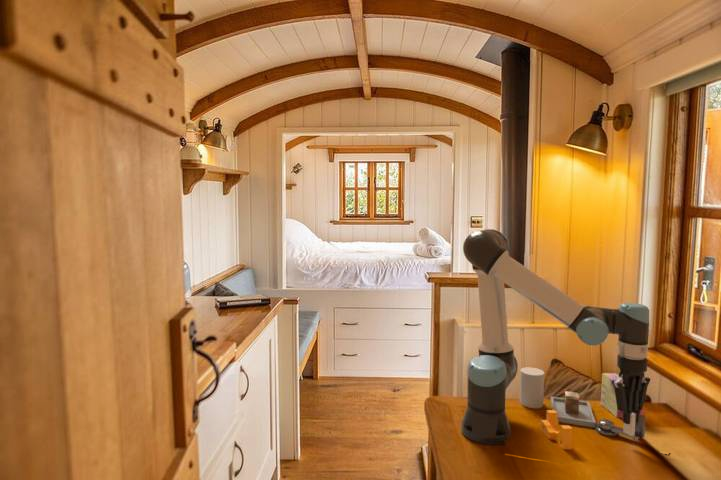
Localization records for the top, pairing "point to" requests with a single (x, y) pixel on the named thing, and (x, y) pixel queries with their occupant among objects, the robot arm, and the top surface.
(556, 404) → the tray
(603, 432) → the crank base
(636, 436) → the crank
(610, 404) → the box
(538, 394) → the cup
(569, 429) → the orange stepped block
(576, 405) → the stop block
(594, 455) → the top surface
